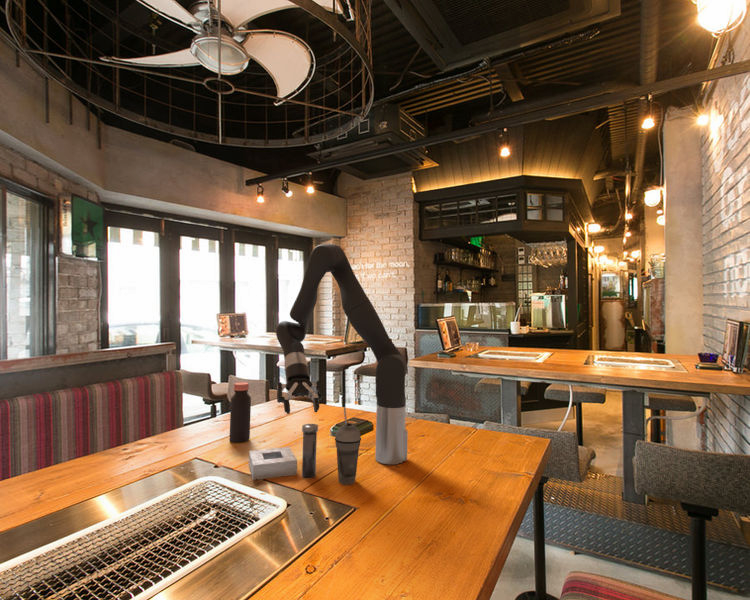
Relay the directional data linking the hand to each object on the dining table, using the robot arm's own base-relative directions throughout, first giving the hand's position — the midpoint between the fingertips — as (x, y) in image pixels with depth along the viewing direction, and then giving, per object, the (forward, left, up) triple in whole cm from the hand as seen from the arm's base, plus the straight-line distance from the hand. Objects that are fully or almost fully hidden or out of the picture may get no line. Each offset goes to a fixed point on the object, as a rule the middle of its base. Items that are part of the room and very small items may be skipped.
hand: (302, 411), depth 124 cm
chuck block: (+9, +2, -15) cm, 18 cm away
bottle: (+16, -28, -16) cm, 36 cm away
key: (0, +10, -15) cm, 18 cm away
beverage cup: (-9, +17, -16) cm, 25 cm away
